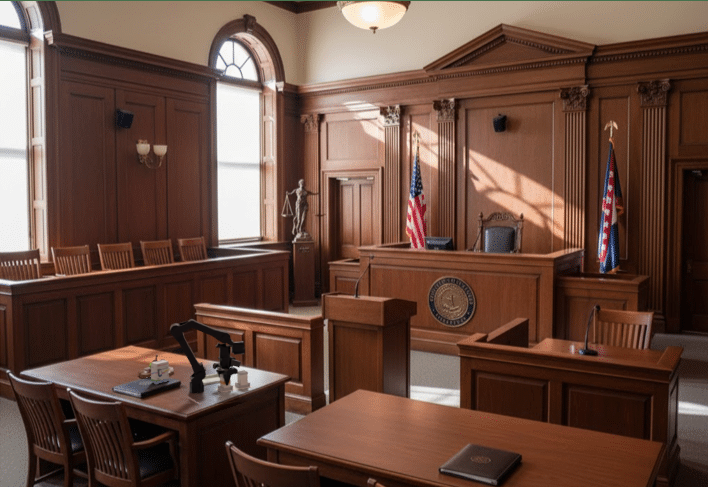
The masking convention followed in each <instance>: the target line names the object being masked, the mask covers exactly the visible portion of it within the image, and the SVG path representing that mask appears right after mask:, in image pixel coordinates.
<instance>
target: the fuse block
mask: <svg viewBox="0 0 708 487" xmlns="http://www.w3.org/2000/svg"><path fill="white" fill-rule="evenodd" d="M230 386H231V390H225V391H223V387H221V386H220V384H219V385H217V388H215V390H216V391H218V392H220V393H222V394H223V393H228V392H233V391H240V390H243V389H249V388H253V386H252V385H251V382H249V381H248V387H243V388H241V384H239V383H238V382H237V381H236V382H234V385H232V384H231V383H230Z"/></svg>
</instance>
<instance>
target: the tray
mask: <svg viewBox="0 0 708 487" xmlns="http://www.w3.org/2000/svg"><path fill="white" fill-rule="evenodd" d="M202 381H203V384H204V386H208V385H213V384H218V383H219V384H220V377H219V375H218V374H217V373H212V374H211V373H210V374H206V377H205V378H204V379H203V380H202Z"/></svg>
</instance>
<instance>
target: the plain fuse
mask: <svg viewBox="0 0 708 487" xmlns="http://www.w3.org/2000/svg"><path fill="white" fill-rule="evenodd" d="M248 373H249V372H248V371H247V370H238V374H236V376H237V381H236V382H237V383H239V384H241V388H243V387H248V382H249V381H248V377H249V376H248Z"/></svg>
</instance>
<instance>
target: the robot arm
mask: <svg viewBox="0 0 708 487" xmlns="http://www.w3.org/2000/svg"><path fill="white" fill-rule="evenodd" d="M190 329H194V330H196V331H199V332H201V333H203V334H207V335H208V336H211V337H213V338H214V339H216V340H217V341H218V342H217V343H216V344H215V348H216V349H217V348H218V351H219V355H218V357H217V359H218V360H219V362H218V361H217V362H214V363H213V364H212V369H213V370H215V372H216V374H218V375H219V377H220V374H222V375H223V378H224V381H225V384H226V386H227V385H228V384H229V381H230V380H231V377H232V376H233V375H237V374H238V371H239V370H238V369H239V368H240V367H241V364H242V361H241V360H237V359H236V357H233V356H231V354H233V355H245V354H246V348H245V342H244V341H243V340H241V341H234V340H233V339H232V338H231V337H232V336H231V334H230V333H229V331H227V330H224V329H219V328H217V329H216V328H215V327H211V326H209V325H207V324H204V323H202V322H200V321H197V320H195V319H193V318H190V319H189V320H185V321H182V322H179V323H172V324H171V325H170V327H169V332H170V335H171V336H172V337H173V338H174V339H175V341H176V342H177V343H178V344H179V346H180V348H181V349H182V351H183V353H184V355H185V356H186V358H187V360H188V362H189V364H190V365H191V368H192V371H193V372H192V374H191V375H190V377H189V378H190V381H189V393H190V394H201V393H202V392H205V385H204V384H203V381H202V380H203V379H204V378H205V377H206V375H207V373H206V372H207V368H206V367H205V366H204V363H203V361H200V362H199V360H198V359H197V358H196V356H195V354H194V352H193V350H192V348H191V346H190V345H189V343H188V341H187V339H186V338H185V335H184V333H185V332H186V331H188V330H190ZM236 367H237V368H236Z"/></svg>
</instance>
